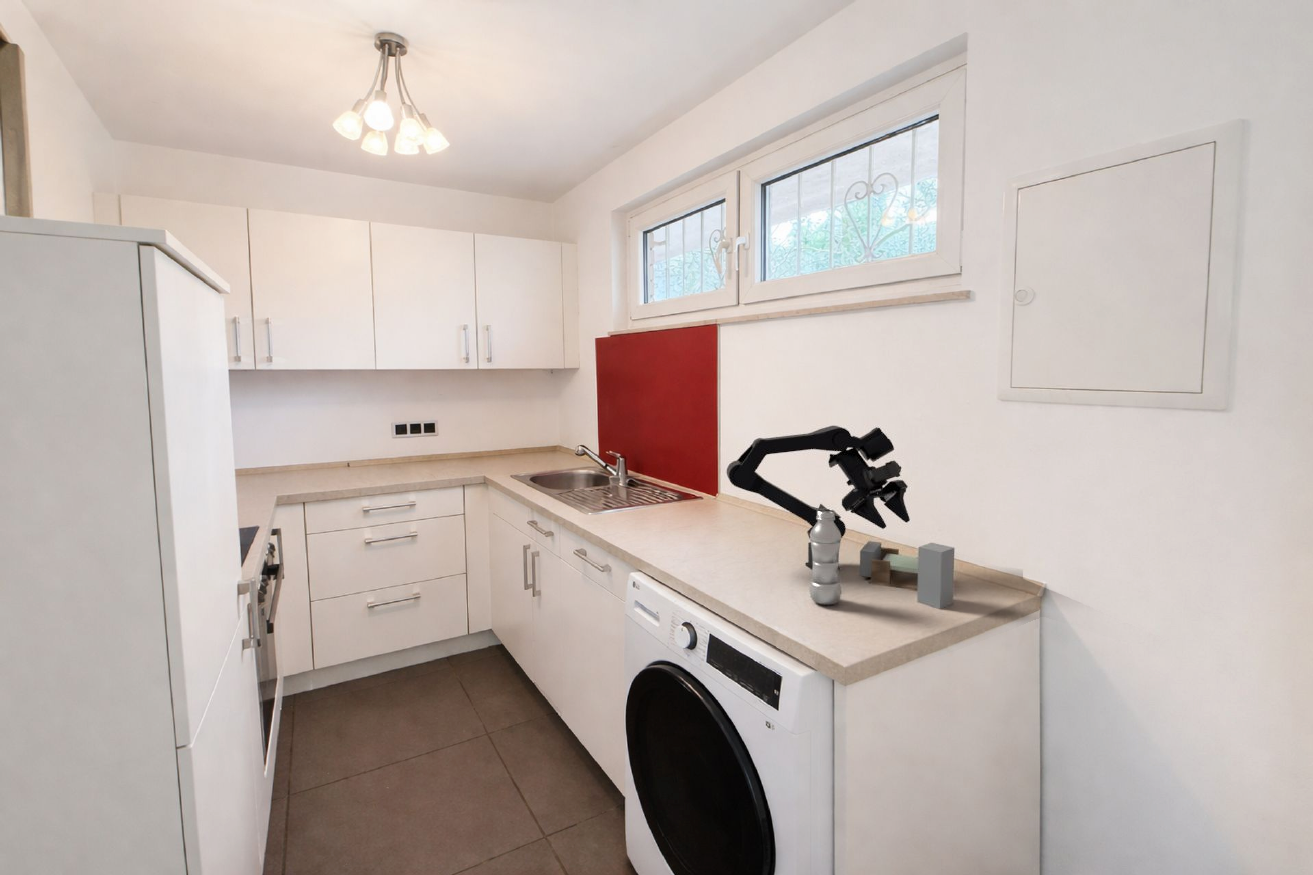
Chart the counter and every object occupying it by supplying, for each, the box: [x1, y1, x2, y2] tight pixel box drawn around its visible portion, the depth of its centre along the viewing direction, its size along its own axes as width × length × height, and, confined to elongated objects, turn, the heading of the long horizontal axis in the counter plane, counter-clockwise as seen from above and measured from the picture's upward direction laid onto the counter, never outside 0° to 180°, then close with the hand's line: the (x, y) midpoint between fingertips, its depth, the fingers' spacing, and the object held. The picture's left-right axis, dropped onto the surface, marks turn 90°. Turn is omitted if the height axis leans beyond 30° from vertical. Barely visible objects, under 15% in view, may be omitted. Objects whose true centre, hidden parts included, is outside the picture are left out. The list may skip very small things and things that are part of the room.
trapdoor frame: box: [868, 546, 918, 591], centre depth 142 cm, size 16×12×6 cm
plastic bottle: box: [809, 508, 842, 606], centre depth 129 cm, size 6×7×20 cm
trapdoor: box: [859, 540, 918, 578], centre depth 143 cm, size 16×9×6 cm, turn 59°
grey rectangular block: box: [916, 542, 955, 610], centre depth 128 cm, size 5×5×12 cm
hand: (896, 524), depth 141 cm, fingers open, 9 cm apart
